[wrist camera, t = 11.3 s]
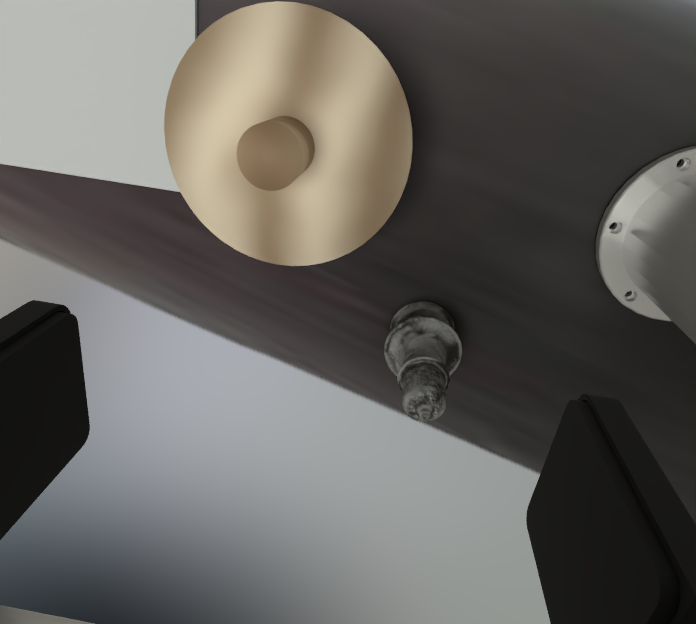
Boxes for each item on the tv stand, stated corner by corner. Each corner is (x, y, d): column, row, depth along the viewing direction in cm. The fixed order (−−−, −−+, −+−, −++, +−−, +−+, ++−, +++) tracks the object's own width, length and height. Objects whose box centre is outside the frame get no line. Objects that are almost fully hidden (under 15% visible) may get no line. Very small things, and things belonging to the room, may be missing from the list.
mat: (197, -77, 32) (194, -79, 32) (197, 193, 40) (195, 194, 39) (-60, -110, 33) (-66, -112, 33) (-14, 160, 41) (-17, 160, 40)
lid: (434, 21, 28) (438, 13, 24) (391, 277, 34) (387, 307, 30) (165, -14, 29) (121, -28, 24) (172, 243, 35) (139, 268, 31)
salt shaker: (372, 319, 43) (358, 403, 32) (435, 285, 41) (444, 363, 30) (409, 372, 44) (407, 470, 34) (471, 342, 42) (491, 435, 32)
